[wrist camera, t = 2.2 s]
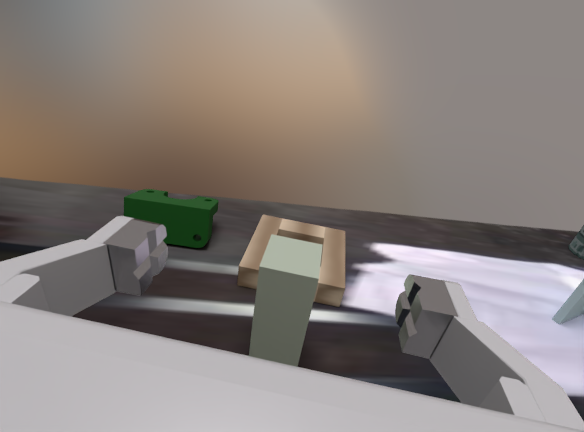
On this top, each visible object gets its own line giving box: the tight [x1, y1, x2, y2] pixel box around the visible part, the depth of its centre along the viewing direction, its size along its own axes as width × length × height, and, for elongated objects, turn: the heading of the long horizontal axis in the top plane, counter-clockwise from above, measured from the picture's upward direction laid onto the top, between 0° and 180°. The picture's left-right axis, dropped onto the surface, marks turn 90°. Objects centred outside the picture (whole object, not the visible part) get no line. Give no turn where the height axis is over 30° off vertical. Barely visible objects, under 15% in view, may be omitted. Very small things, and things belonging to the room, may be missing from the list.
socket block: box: [238, 215, 345, 307], centre depth 43 cm, size 12×12×3 cm
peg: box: [249, 234, 323, 367], centre depth 28 cm, size 4×4×12 cm
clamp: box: [124, 189, 218, 248], centre depth 45 cm, size 12×6×9 cm, turn 81°
